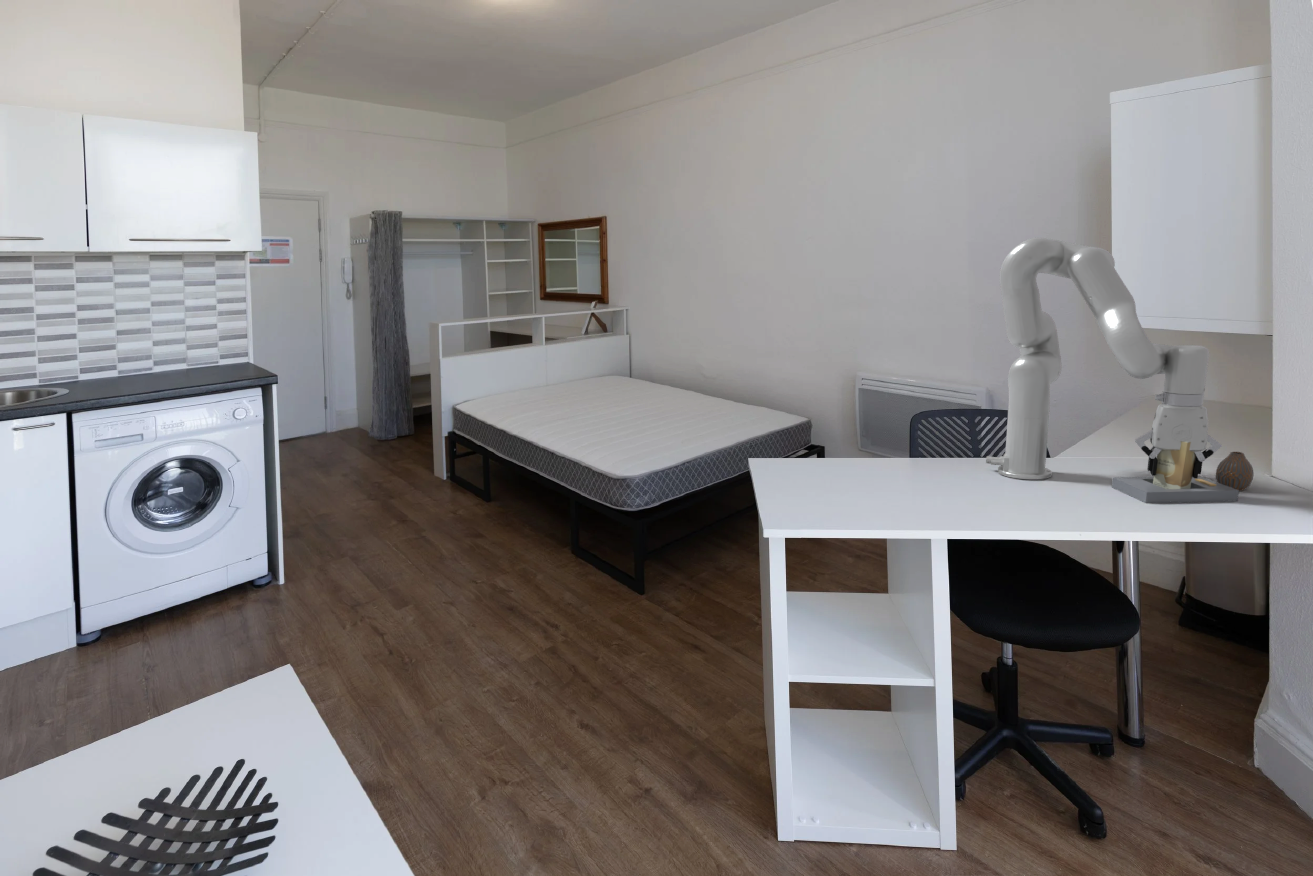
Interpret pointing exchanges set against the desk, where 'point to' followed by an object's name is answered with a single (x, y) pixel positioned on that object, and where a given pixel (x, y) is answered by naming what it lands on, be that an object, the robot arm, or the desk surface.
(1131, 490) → the socket dock
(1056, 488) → the desk surface
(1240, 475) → the vase
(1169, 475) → the skincare box
